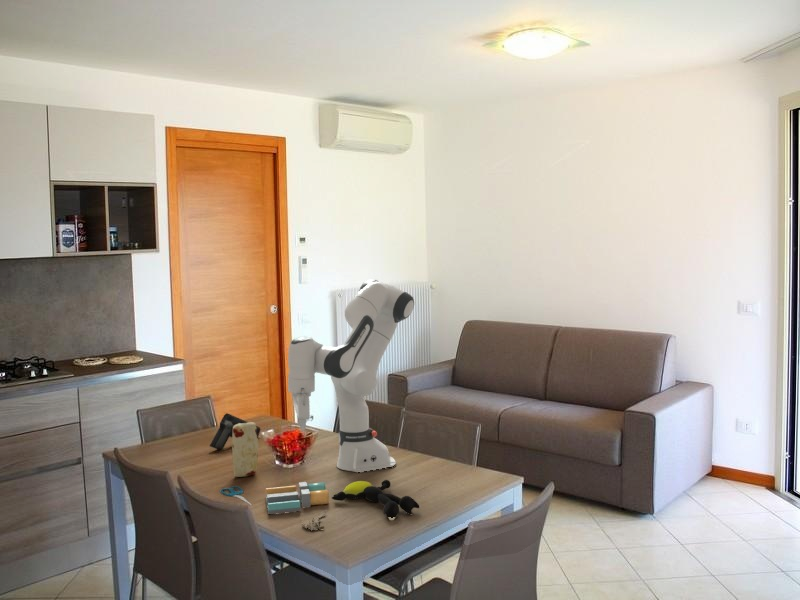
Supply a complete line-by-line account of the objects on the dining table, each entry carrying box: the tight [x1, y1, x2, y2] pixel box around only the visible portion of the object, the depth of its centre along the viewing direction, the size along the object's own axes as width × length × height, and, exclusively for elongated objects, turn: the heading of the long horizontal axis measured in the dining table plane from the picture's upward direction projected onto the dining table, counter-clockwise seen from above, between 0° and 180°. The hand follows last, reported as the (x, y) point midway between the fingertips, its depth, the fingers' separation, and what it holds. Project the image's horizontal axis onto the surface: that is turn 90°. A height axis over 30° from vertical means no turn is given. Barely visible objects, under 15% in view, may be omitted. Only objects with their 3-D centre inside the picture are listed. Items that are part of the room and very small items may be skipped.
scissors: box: [220, 485, 253, 506], centre depth 240 cm, size 7×1×20 cm
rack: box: [265, 485, 301, 515], centre depth 231 cm, size 10×15×4 cm, turn 14°
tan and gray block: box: [300, 489, 330, 508], centre depth 231 cm, size 8×4×5 cm, turn 103°
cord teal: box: [298, 481, 327, 501], centre depth 238 cm, size 8×4×5 cm, turn 103°
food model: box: [231, 421, 259, 478], centre depth 261 cm, size 10×7×20 cm
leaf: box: [301, 510, 327, 532], centre depth 217 cm, size 11×15×2 cm
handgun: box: [209, 412, 261, 451], centre depth 305 cm, size 2×24×15 cm, turn 148°
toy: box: [331, 479, 420, 518], centre depth 231 cm, size 23×6×30 cm
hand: (301, 426), depth 237 cm, fingers open, 8 cm apart
